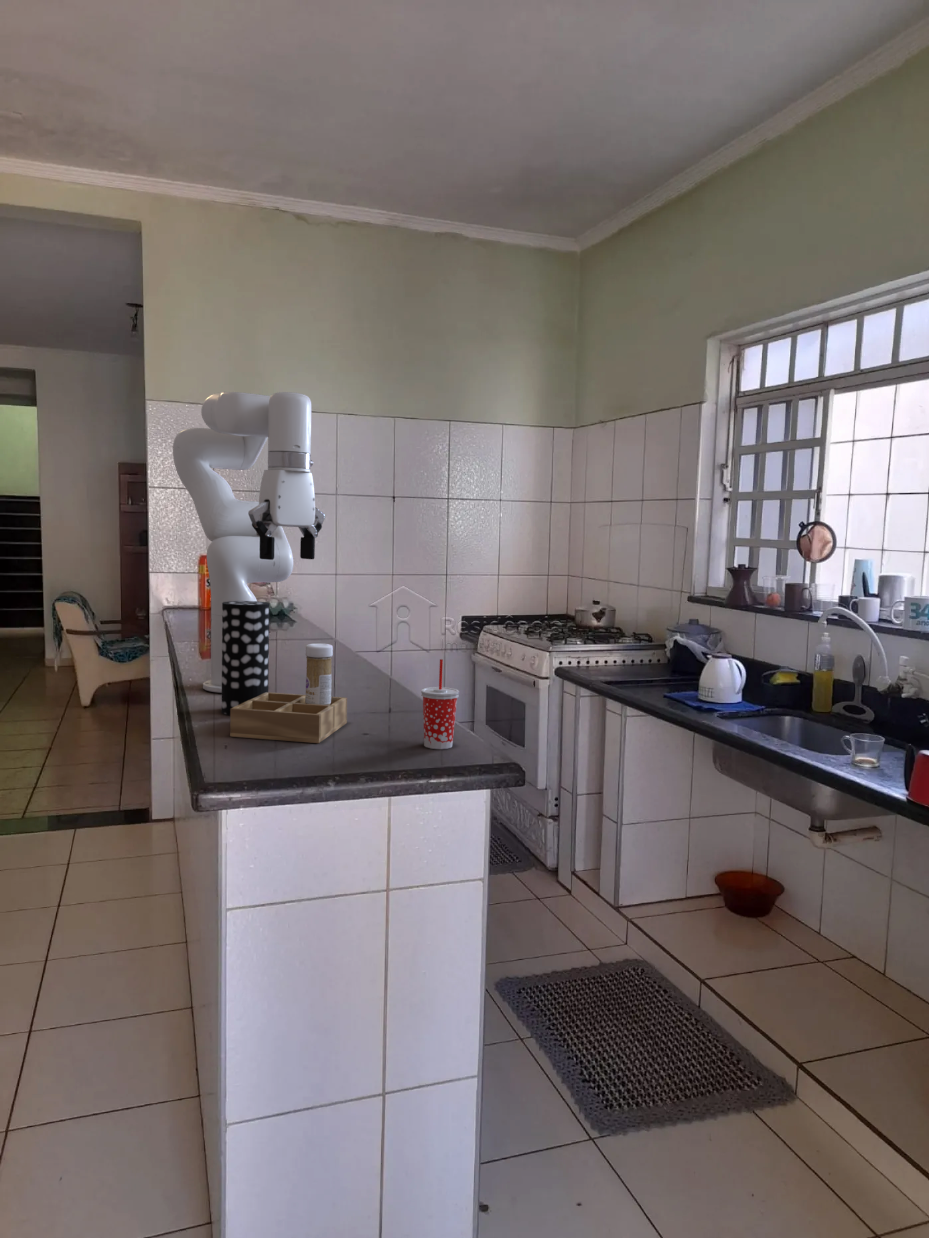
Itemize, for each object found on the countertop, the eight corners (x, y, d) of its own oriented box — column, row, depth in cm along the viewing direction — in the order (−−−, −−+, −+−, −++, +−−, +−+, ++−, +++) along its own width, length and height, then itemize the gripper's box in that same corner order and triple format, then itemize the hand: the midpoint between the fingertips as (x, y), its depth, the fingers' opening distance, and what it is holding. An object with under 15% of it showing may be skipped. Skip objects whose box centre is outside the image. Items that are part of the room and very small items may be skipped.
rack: (265, 717, 155) (266, 692, 154) (346, 723, 152) (347, 697, 152) (230, 736, 140) (230, 708, 139) (318, 743, 138) (319, 715, 137)
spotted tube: (256, 717, 154) (257, 605, 152) (213, 714, 156) (213, 603, 154) (275, 708, 162) (276, 602, 160) (234, 705, 164) (235, 600, 162)
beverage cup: (453, 751, 136) (456, 663, 134) (415, 748, 137) (418, 660, 135) (460, 742, 142) (463, 657, 140) (423, 739, 143) (426, 655, 141)
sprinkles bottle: (299, 721, 149) (300, 643, 148) (321, 717, 152) (322, 642, 151) (314, 726, 146) (315, 647, 144) (336, 722, 149) (338, 645, 148)
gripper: (309, 467, 164) (308, 557, 166) (236, 459, 150) (235, 558, 152) (338, 467, 160) (336, 559, 162) (265, 459, 146) (264, 560, 148)
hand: (287, 559), depth 157 cm, fingers open, 9 cm apart
